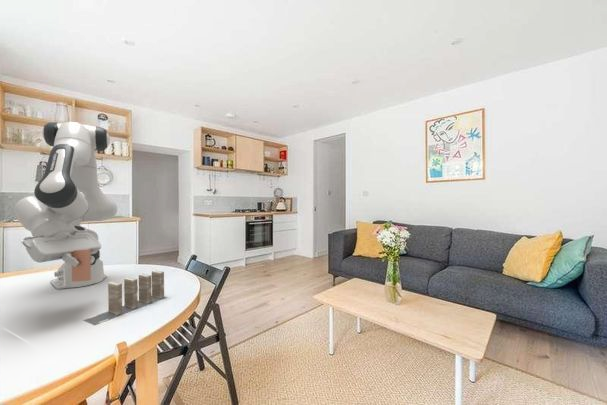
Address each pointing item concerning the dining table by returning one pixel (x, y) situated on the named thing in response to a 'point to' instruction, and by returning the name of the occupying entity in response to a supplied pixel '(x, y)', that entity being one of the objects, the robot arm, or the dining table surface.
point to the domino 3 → (145, 288)
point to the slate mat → (108, 316)
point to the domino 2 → (130, 293)
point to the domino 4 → (158, 284)
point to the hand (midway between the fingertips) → (82, 263)
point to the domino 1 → (115, 298)
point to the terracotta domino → (82, 265)
